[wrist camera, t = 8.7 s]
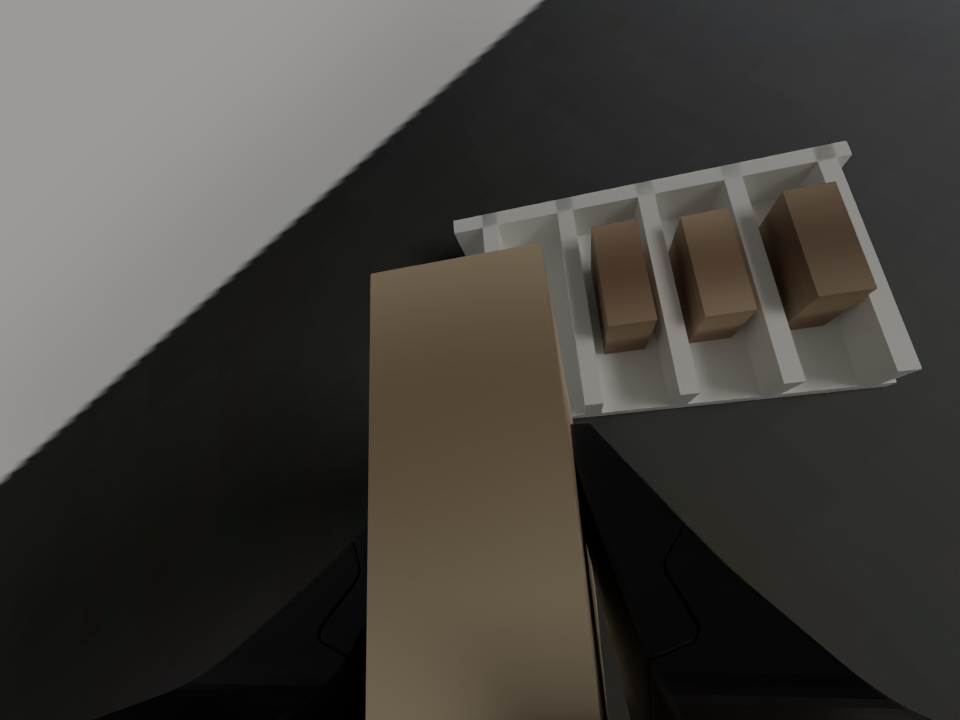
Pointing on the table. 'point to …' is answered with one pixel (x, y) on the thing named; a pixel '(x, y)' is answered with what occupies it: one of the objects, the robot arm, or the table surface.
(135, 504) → the table surface
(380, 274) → the oak board
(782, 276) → the walnut offcut
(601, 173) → the table surface
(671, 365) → the offcut rack
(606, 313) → the walnut offcut
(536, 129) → the table surface
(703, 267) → the walnut offcut
